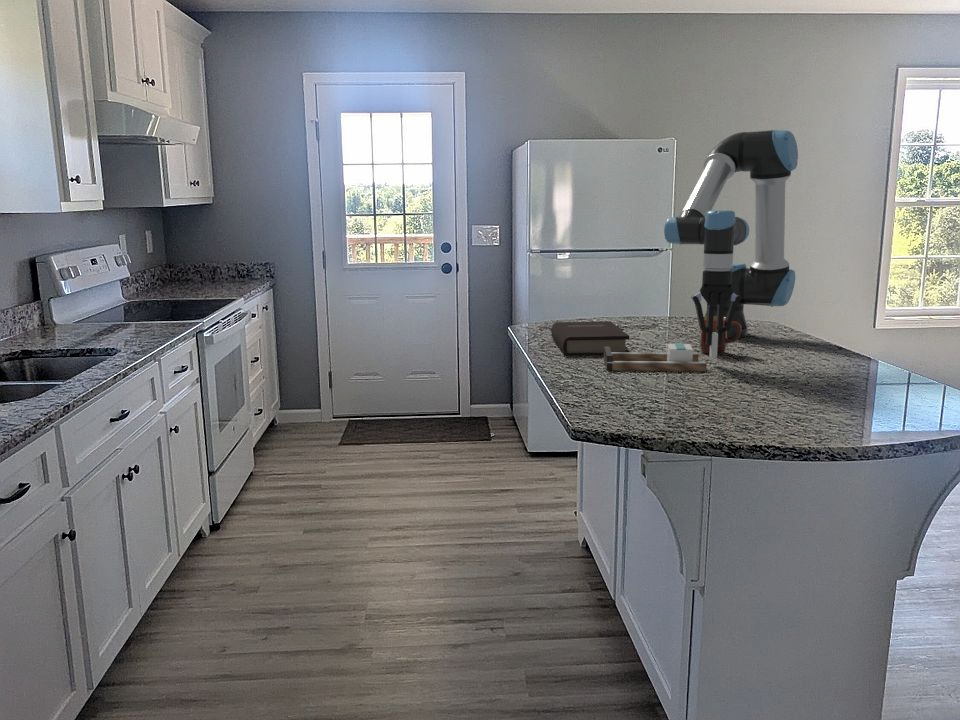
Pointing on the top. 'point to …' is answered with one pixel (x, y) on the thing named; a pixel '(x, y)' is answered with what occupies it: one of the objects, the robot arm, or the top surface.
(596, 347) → the book
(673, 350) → the block
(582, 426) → the top surface
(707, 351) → the mug
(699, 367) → the rail board
